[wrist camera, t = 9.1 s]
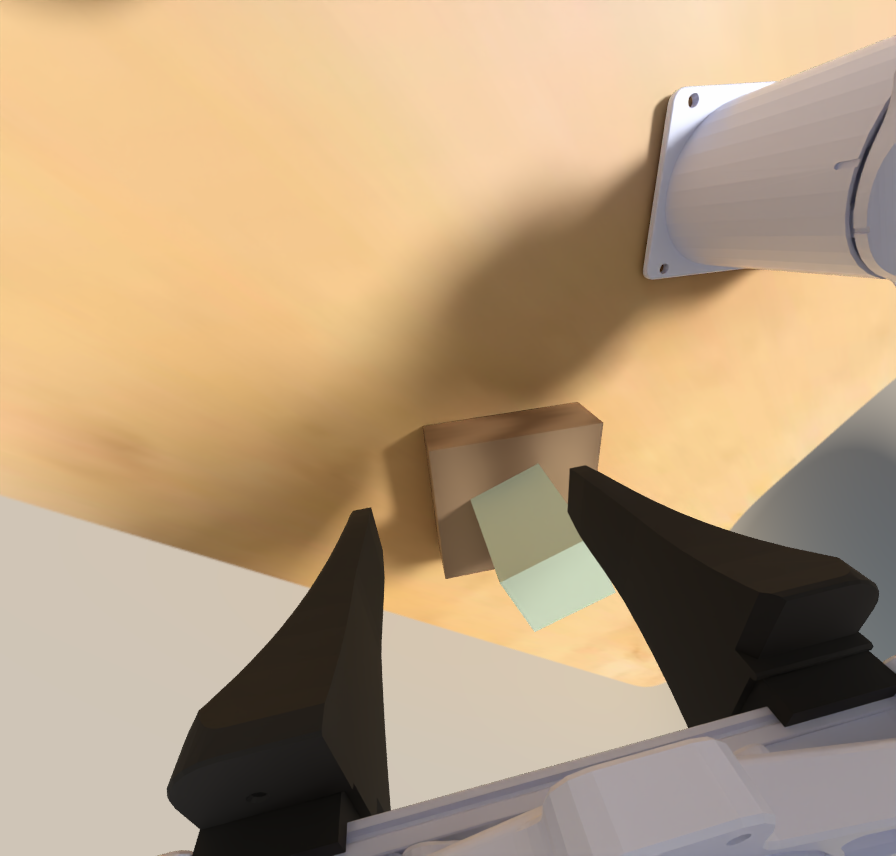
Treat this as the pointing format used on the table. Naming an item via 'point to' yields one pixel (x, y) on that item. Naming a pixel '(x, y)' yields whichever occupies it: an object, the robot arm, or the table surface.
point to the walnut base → (499, 468)
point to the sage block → (538, 549)
